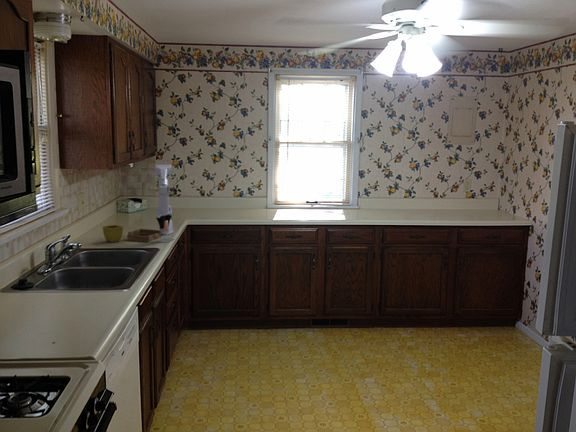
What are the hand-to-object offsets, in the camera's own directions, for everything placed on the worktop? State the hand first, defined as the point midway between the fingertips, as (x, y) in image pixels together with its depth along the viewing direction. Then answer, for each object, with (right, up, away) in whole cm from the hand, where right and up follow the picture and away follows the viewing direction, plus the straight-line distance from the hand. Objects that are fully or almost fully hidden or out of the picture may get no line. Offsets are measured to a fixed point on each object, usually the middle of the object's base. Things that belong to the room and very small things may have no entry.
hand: (164, 227), depth 340 cm
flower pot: (-30, -8, -3) cm, 31 cm away
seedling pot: (0, -2, 0) cm, 2 cm away
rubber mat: (0, -8, +1) cm, 8 cm away
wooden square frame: (-13, -7, +5) cm, 16 cm away
